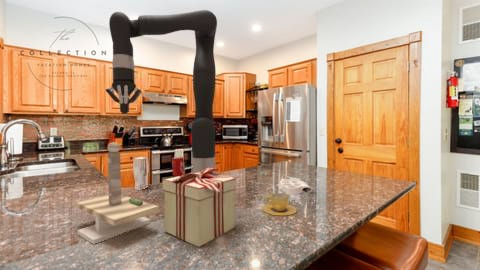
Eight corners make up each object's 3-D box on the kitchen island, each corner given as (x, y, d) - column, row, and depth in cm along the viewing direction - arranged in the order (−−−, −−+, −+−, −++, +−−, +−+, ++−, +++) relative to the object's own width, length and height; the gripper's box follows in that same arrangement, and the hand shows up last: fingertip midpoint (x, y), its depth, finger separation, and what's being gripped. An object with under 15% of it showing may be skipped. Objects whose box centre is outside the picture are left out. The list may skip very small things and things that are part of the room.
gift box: (212, 253, 55) (211, 180, 54) (159, 234, 64) (158, 172, 64) (248, 226, 69) (247, 168, 68) (201, 214, 79) (200, 163, 78)
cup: (297, 206, 86) (297, 191, 86) (295, 218, 75) (295, 201, 75) (265, 203, 90) (265, 189, 90) (258, 214, 79) (258, 198, 78)
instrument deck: (75, 206, 70) (73, 141, 70) (115, 196, 80) (114, 139, 79) (115, 226, 56) (112, 145, 56) (158, 211, 66) (156, 142, 65)
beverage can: (182, 189, 110) (182, 158, 110) (170, 189, 112) (169, 158, 111) (187, 186, 116) (187, 156, 116) (175, 186, 118) (175, 156, 117)
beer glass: (136, 187, 116) (135, 157, 116) (150, 186, 117) (150, 156, 116) (131, 190, 109) (130, 159, 109) (146, 190, 110) (145, 158, 109)
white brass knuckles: (314, 195, 100) (280, 196, 100) (303, 185, 118) (274, 185, 118) (314, 188, 100) (280, 188, 100) (303, 178, 118) (274, 178, 118)
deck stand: (77, 234, 65) (77, 215, 65) (132, 216, 78) (132, 200, 78) (93, 244, 59) (93, 224, 59) (150, 223, 72) (149, 206, 72)
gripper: (100, 65, 85) (102, 113, 85) (139, 66, 87) (140, 113, 88) (108, 70, 92) (110, 114, 93) (144, 71, 94) (145, 114, 95)
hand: (124, 113), depth 90 cm, fingers closed
